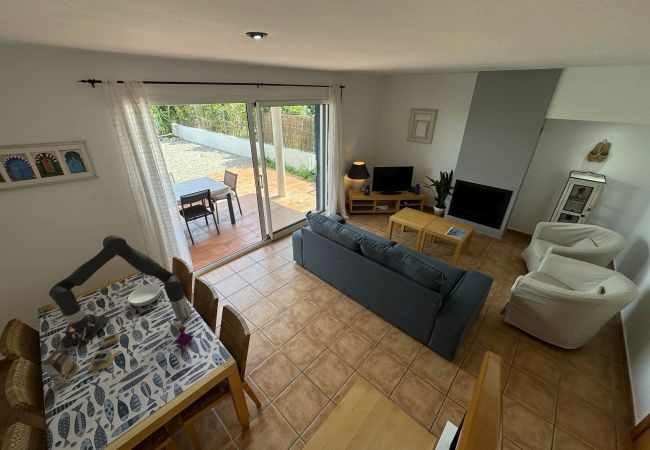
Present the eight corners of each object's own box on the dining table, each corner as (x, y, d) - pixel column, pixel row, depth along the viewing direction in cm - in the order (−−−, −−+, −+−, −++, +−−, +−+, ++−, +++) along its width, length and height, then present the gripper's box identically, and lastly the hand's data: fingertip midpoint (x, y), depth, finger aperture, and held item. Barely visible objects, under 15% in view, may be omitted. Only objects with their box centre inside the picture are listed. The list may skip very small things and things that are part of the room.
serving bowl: (155, 286, 209) (152, 280, 206) (168, 297, 198) (165, 290, 195) (126, 302, 194) (123, 295, 191) (138, 314, 183) (135, 307, 180)
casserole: (101, 313, 184) (96, 305, 180) (115, 323, 176) (110, 315, 172) (56, 340, 165) (49, 331, 161) (70, 353, 157) (63, 343, 153)
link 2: (112, 354, 154) (110, 351, 153) (107, 362, 150) (105, 359, 148) (97, 356, 153) (95, 353, 152) (92, 364, 148) (89, 361, 147)
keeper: (117, 352, 157) (113, 345, 154) (108, 367, 148) (103, 360, 145) (99, 354, 156) (94, 347, 153) (89, 370, 147) (84, 363, 144)
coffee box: (67, 383, 141) (52, 364, 133) (55, 383, 140) (39, 365, 133) (80, 367, 149) (67, 348, 141) (68, 367, 148) (54, 349, 141)
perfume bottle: (194, 339, 165) (187, 319, 157) (185, 349, 159) (177, 329, 150) (185, 336, 167) (178, 316, 159) (176, 345, 161) (167, 325, 153)
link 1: (118, 335, 168) (117, 332, 166) (118, 341, 164) (117, 338, 162) (103, 341, 164) (101, 338, 162) (103, 347, 160) (101, 344, 158)
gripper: (75, 327, 130) (89, 348, 137) (92, 306, 142) (104, 326, 150) (58, 329, 129) (73, 350, 136) (77, 308, 141) (90, 328, 149)
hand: (90, 337), depth 143 cm, fingers open, 8 cm apart
